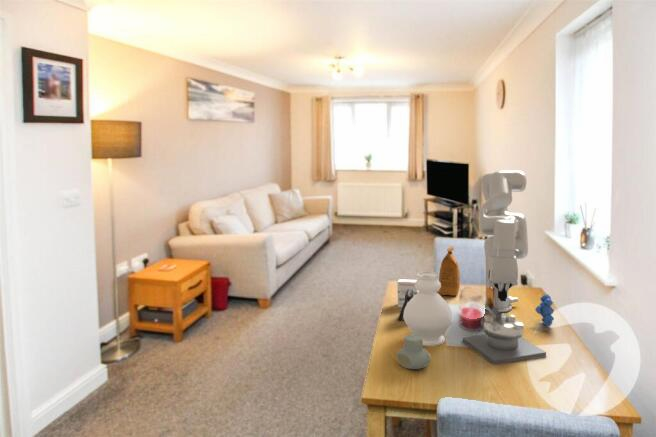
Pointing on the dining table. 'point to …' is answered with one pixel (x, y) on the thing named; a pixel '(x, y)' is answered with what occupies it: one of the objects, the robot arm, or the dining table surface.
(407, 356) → the air freshener
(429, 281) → the decorative vase
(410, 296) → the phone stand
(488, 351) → the thin grey metal plate
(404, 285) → the ink box
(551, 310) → the grapes
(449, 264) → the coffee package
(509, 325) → the multicoloured piece
